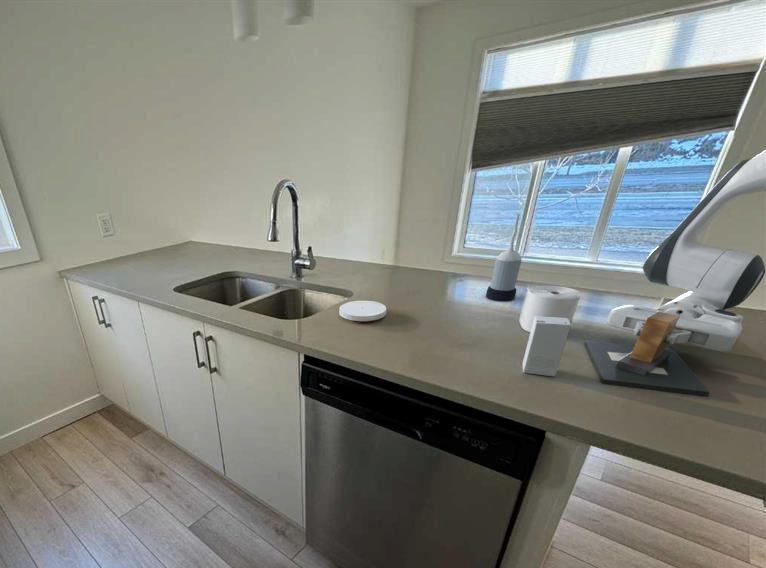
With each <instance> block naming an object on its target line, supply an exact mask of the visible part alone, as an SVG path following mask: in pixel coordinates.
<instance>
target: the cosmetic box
mask: <svg viewBox="0 0 766 568" xmlns="http://www.w3.org/2000/svg"><path fill="white" fill-rule="evenodd" d="M571 328H572V323H571V324H570V322H569V319H568V318H556V317H541V316H535V317H534V321H533V324H532V329H531V333H530V332H529V336H528V341H527V343H526V344H527V345H526V348H525V352H524V356H523V360H522V373H523V374H528V375H529V374H530V375H538V376H547V377H556V376H557V372H558V369H559V367H560V362H561V360H562V356H563V353H564V350H565V346H566V344H567V341H568V337H569V332H570V330H571Z"/></svg>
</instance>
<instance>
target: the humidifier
mask: <svg viewBox="0 0 766 568" xmlns="http://www.w3.org/2000/svg"><path fill="white" fill-rule="evenodd" d="M520 215H521V213H516V216H515V221H514V226H513V233H512V235H511V238H510V241H509V247H508V249H507V250H504V251H503V252H501V253H499V255H497V257H496V259H495V263H494V268H493V271H492V276H491V281H490V285H488V287H487V289H486V292H485V297H486V299H488V300H490V301H493V302H503V303H504V302H511V301H514V300H515V299H516V295H517V288H516V284H517V281H518V276H519V272H520V268H521V265H522V256H521V254H520V253H519V252H518V251H517V250H518V248H519V244H520V240H521V238H522V235H523V233H522V232H520V233H521V234H520V236H519V239H518V243H517V247H516V249H514V245H515V244H514V243H515V237H516V236H517V234H518V225H519V220H520ZM525 217H526V216H524V218H523V221H522V226H521V227H520V230H522V229H523V226H524V222H525Z"/></svg>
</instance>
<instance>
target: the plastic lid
mask: <svg viewBox="0 0 766 568" xmlns="http://www.w3.org/2000/svg"><path fill="white" fill-rule="evenodd" d="M338 314H339V316H340V317H342V318H344V319H346V320H349V321H355V322H370V321H376V320H380V319H382V318H384V317H385V316H386V315H387V306H386V305H385V304H383V303H381V302H378V301H373V300H354V301H353V300H352V301H347V302H345V303H343V304H341V305H340V306H339V311H338Z"/></svg>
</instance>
